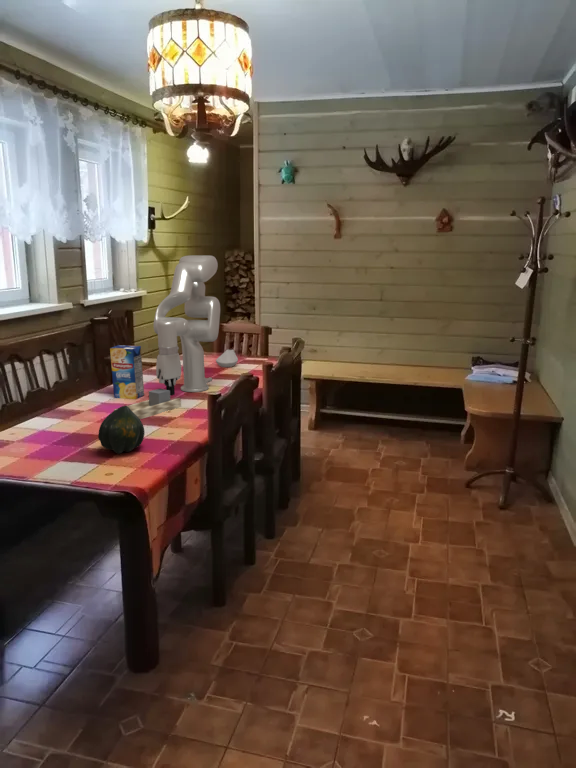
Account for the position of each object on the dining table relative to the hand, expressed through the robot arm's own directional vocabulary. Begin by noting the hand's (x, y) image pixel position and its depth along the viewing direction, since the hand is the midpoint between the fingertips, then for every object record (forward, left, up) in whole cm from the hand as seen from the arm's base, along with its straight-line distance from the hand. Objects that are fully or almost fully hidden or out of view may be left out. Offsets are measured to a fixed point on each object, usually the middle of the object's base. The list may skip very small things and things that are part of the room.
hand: (170, 394), depth 249 cm
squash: (+45, +26, -5) cm, 52 cm away
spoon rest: (-75, -37, -5) cm, 84 cm away
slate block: (+6, 0, -3) cm, 7 cm away
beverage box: (+1, -26, -5) cm, 27 cm away
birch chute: (+12, 0, -5) cm, 13 cm away
